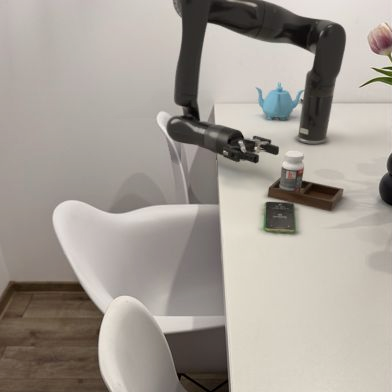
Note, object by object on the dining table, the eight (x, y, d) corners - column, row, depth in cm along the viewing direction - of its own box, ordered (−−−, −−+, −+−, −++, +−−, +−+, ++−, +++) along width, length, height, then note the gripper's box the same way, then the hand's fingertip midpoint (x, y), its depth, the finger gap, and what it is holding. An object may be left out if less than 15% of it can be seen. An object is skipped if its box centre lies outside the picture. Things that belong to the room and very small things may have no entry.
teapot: (252, 116, 182) (254, 86, 176) (278, 110, 188) (280, 81, 181) (276, 124, 174) (279, 93, 168) (302, 117, 180) (305, 87, 174)
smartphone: (263, 228, 113) (264, 200, 124) (263, 232, 113) (264, 204, 125) (296, 230, 112) (294, 202, 123) (295, 233, 113) (294, 205, 124)
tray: (280, 184, 134) (281, 175, 133) (341, 198, 128) (343, 188, 126) (267, 196, 128) (268, 187, 127) (331, 211, 122) (332, 201, 120)
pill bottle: (299, 196, 127) (305, 158, 120) (278, 194, 127) (282, 156, 121) (300, 188, 131) (306, 150, 124) (279, 186, 132) (284, 149, 125)
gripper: (206, 132, 131) (252, 147, 122) (240, 121, 139) (286, 134, 130) (206, 160, 136) (250, 176, 127) (239, 148, 144) (282, 162, 135)
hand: (268, 155), depth 129 cm, fingers open, 8 cm apart
